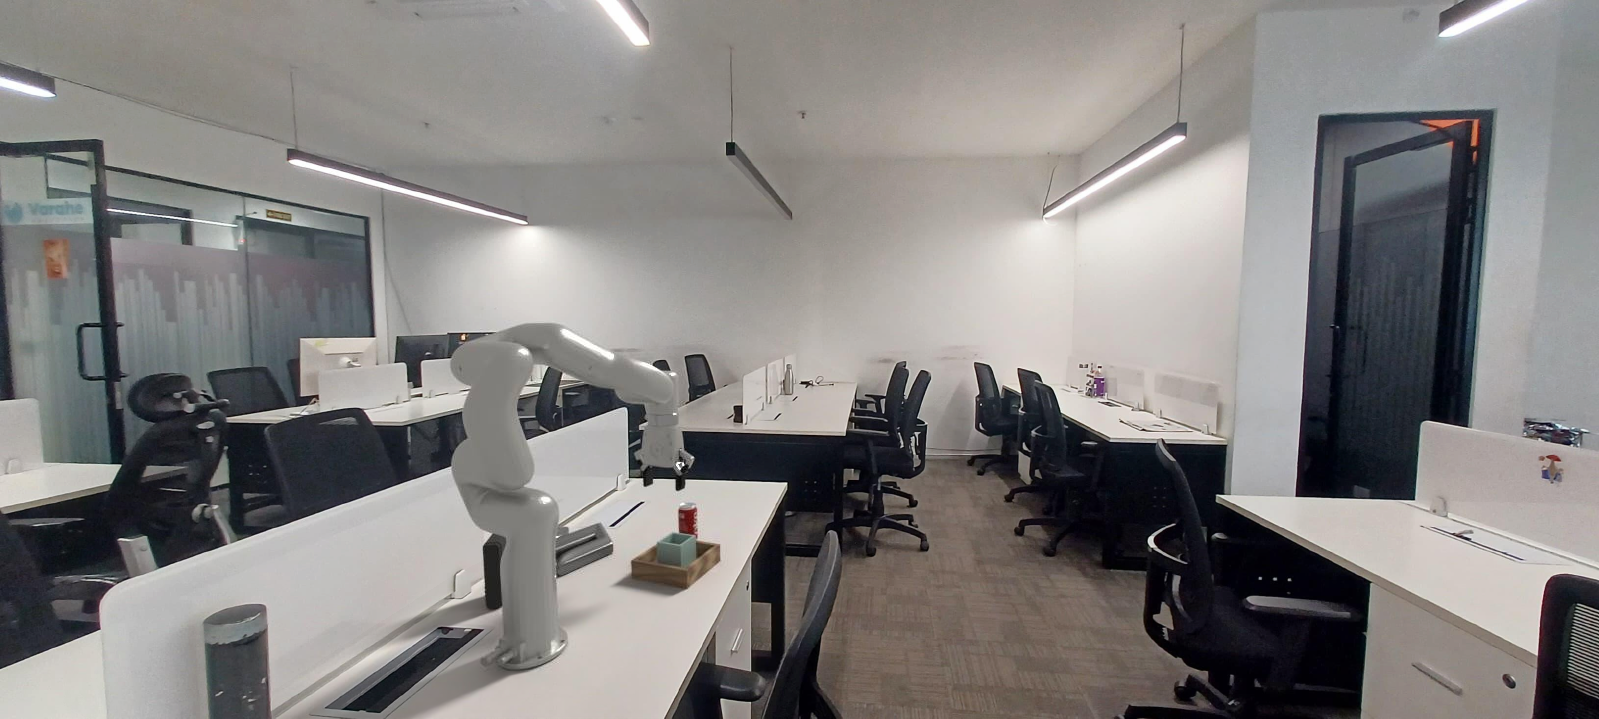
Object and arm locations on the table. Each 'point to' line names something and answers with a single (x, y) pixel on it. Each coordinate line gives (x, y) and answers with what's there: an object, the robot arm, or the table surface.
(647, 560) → the walnut crate
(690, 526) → the soda can
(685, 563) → the small crate
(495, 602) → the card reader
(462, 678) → the table surface
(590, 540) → the emblem
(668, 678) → the table surface
